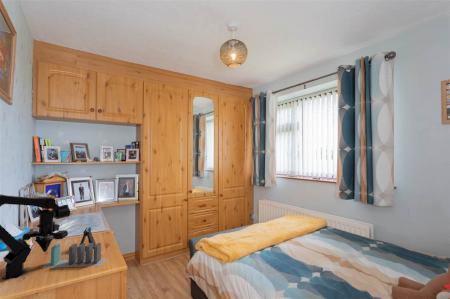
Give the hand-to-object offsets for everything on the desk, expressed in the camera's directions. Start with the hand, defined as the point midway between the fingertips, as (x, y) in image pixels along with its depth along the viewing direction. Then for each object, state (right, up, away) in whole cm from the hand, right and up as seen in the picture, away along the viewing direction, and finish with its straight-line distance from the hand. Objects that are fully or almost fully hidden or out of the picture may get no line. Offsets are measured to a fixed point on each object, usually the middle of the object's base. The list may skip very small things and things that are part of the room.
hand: (45, 251), depth 119 cm
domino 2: (+13, -6, +2) cm, 15 cm away
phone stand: (+9, -7, +20) cm, 23 cm away
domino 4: (+21, -7, +3) cm, 22 cm away
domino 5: (+25, -7, +3) cm, 26 cm away
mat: (+15, -7, +2) cm, 16 cm away
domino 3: (+17, -7, +2) cm, 18 cm away
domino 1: (+5, -6, +1) cm, 8 cm away
